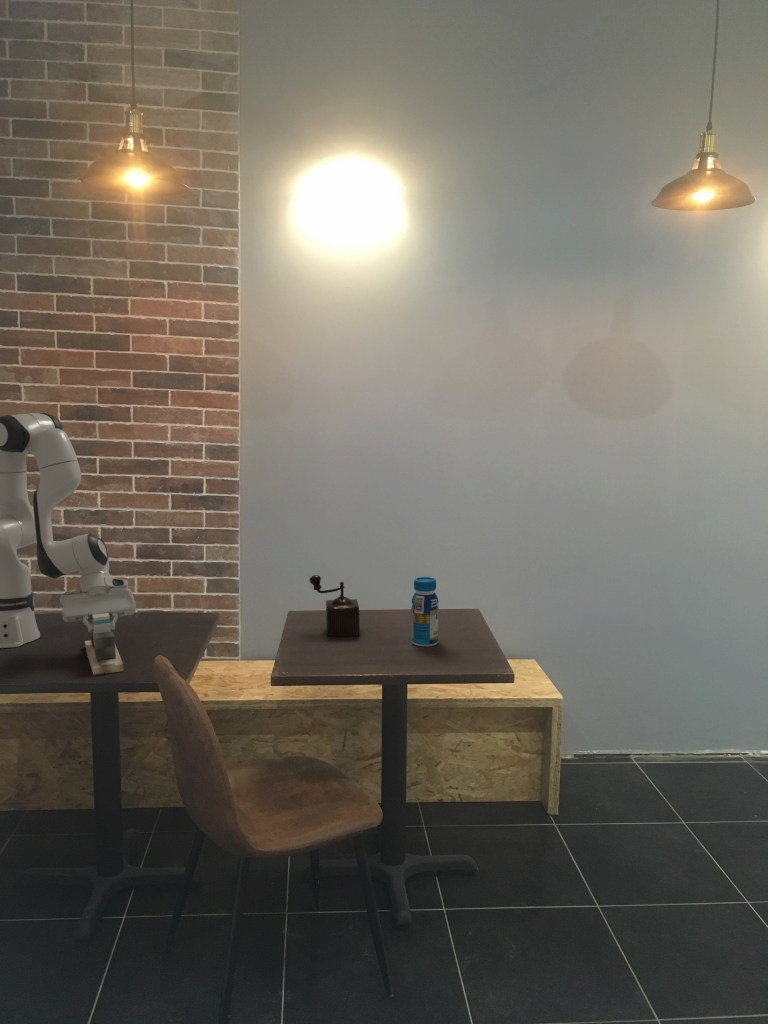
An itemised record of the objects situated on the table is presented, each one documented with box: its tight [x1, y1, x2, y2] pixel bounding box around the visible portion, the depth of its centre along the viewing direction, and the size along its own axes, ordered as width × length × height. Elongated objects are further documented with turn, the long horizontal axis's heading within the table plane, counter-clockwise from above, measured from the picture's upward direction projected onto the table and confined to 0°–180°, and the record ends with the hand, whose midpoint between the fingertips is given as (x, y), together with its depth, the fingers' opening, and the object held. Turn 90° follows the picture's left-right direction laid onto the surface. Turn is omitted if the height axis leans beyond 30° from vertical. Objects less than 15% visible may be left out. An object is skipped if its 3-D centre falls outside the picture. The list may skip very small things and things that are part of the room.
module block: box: [91, 613, 112, 646], centre depth 237 cm, size 4×4×9 cm
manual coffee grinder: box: [309, 574, 361, 638], centre depth 262 cm, size 16×11×18 cm
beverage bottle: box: [410, 576, 440, 647], centre depth 250 cm, size 8×8×20 cm
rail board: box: [84, 620, 125, 676], centre depth 238 cm, size 8×26×9 cm, turn 24°
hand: (102, 629), depth 236 cm, fingers closed on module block, 4 cm apart
